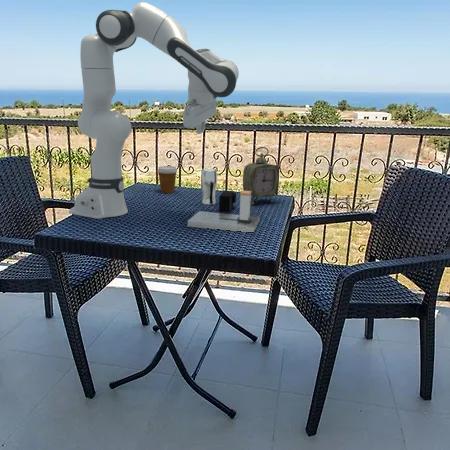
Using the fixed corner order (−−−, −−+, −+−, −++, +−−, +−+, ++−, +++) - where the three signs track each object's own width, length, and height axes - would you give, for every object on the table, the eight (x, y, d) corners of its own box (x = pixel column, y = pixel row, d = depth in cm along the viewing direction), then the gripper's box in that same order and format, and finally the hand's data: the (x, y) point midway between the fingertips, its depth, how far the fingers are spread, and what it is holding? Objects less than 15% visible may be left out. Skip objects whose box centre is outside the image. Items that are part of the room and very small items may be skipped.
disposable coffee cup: (155, 193, 187) (154, 168, 184) (161, 189, 196) (161, 165, 193) (174, 194, 186) (173, 169, 182) (179, 190, 195) (179, 166, 191)
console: (187, 226, 140) (187, 215, 139) (199, 216, 153) (199, 206, 152) (253, 233, 135) (253, 222, 133) (259, 221, 148) (260, 211, 146)
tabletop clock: (250, 206, 169) (253, 148, 162) (239, 201, 177) (242, 146, 169) (277, 203, 176) (281, 147, 169) (265, 198, 184) (268, 145, 176)
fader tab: (236, 220, 140) (237, 192, 137) (239, 217, 144) (240, 190, 141) (250, 222, 139) (251, 193, 136) (252, 218, 143) (253, 191, 140)
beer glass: (216, 205, 169) (217, 171, 165) (200, 204, 169) (200, 170, 165) (216, 201, 176) (217, 168, 172) (201, 200, 176) (201, 168, 172)
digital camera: (232, 213, 159) (232, 196, 156) (218, 212, 159) (219, 195, 157) (235, 206, 168) (236, 191, 166) (223, 206, 169) (223, 190, 167)
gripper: (194, 104, 134) (194, 142, 142) (219, 91, 150) (218, 126, 158) (178, 102, 137) (179, 139, 144) (205, 89, 152) (205, 124, 160)
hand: (200, 132), depth 151 cm, fingers closed
